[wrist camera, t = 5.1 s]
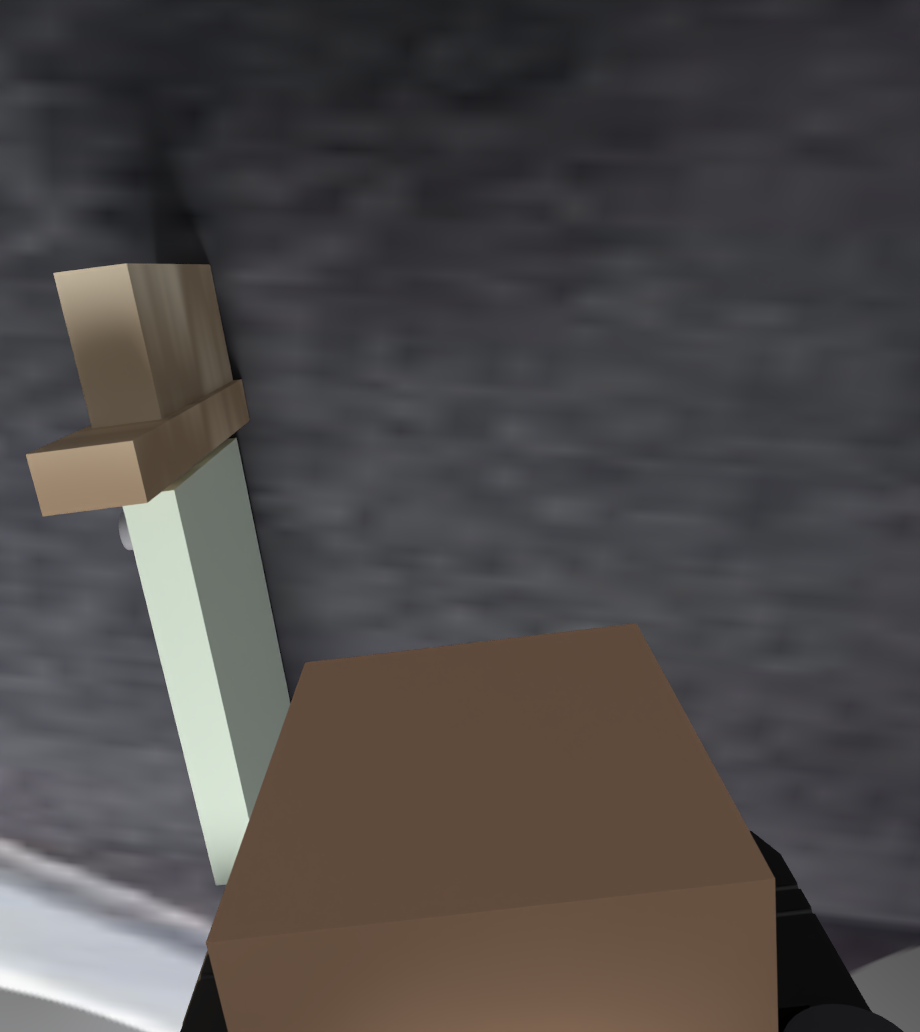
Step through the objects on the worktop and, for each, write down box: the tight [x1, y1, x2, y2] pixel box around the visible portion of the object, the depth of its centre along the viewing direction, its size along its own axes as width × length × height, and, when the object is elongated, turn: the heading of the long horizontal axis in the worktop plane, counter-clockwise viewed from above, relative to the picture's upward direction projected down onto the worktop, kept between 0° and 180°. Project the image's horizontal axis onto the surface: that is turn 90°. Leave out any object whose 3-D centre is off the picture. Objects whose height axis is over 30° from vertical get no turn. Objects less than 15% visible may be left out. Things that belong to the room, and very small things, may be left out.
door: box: [119, 438, 290, 885], centre depth 23 cm, size 12×2×7 cm, turn 7°
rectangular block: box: [206, 623, 778, 1032], centre depth 10 cm, size 7×4×5 cm, turn 7°
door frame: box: [26, 263, 250, 1023], centre depth 22 cm, size 22×2×9 cm, turn 7°
